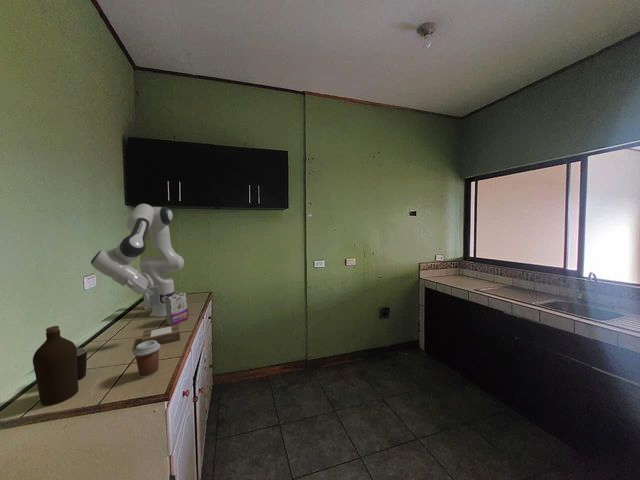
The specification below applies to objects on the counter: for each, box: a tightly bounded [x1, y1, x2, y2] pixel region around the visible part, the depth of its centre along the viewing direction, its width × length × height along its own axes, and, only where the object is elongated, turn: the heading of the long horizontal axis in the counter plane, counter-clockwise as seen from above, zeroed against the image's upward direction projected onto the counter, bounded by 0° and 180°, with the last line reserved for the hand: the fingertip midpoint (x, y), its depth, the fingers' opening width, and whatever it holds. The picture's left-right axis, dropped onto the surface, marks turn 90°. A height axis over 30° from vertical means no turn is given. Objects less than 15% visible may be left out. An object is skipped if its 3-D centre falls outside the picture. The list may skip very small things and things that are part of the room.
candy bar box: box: [165, 292, 189, 326], centre depth 156 cm, size 11×5×16 cm, turn 155°
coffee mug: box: [77, 347, 88, 381], centre depth 100 cm, size 12×9×10 cm
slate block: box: [149, 285, 160, 306], centre depth 130 cm, size 4×4×9 cm
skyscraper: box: [139, 270, 154, 311], centre depth 183 cm, size 8×8×28 cm
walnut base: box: [141, 323, 181, 346], centre depth 132 cm, size 14×16×4 cm
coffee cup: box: [132, 340, 161, 379], centre depth 102 cm, size 9×9×12 cm
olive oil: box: [32, 325, 80, 407], centre depth 89 cm, size 11×11×25 cm
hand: (153, 292), depth 130 cm, fingers closed on slate block, 4 cm apart
